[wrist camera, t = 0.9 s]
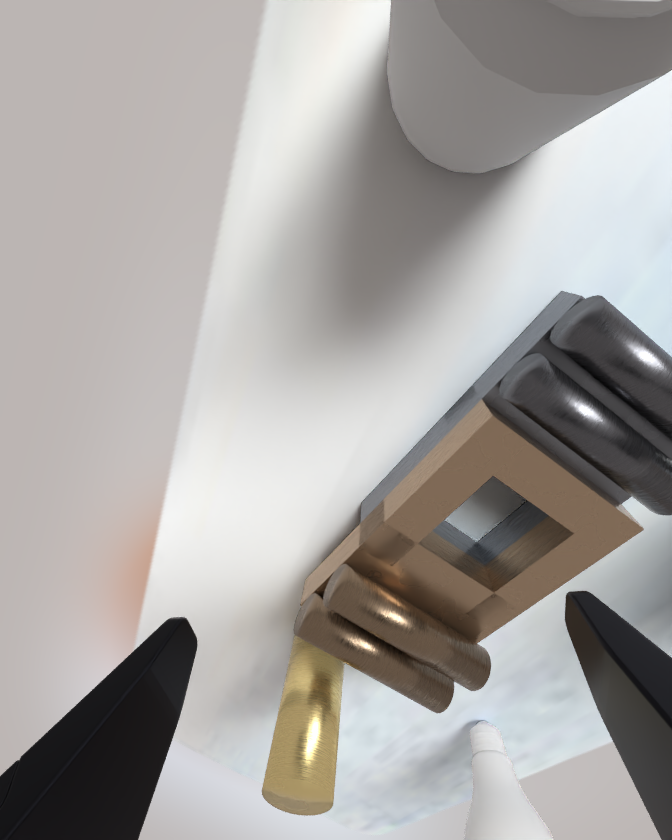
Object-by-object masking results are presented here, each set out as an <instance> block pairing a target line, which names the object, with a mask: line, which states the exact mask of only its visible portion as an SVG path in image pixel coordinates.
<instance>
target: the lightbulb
mask: <svg viewBox="0 0 672 840" xmlns="http://www.w3.org/2000/svg"><path fill="white" fill-rule="evenodd" d="M470 740H471V747H472V753H473V759H472V762H471V765H472V773H473V793H472V802H471V806H470V809H469V813H468V817H467V822H466V828H465V833H464V835H465V836H464V837H465V838H464V840H554V839H553V837H552V835H551V832H550V831H549V829H548V828H547V826H546V825H545V823H544V821H543V820H542V819H541V817H540V816H539V814H538V813H537V811H536V810H535V809H534V807H533V806H532V804H531V803H530V802H529V800H528V799H527V797H526V795H525V793H524V792H523V790H522V788H521V786H520V784H519V781H518V779H517V776H516V774H515V771H514V767H513V764H512V762H511V760H510V758H509V757H507V753H506V750H505V746H504V744H503V739H502V737H501V734H500V731H499V730H498V729H497V728H496V727H495V726H493V725H490V724H489V723H488V722H485V721H480V722H478V723H477V725H475V726H474V727H472V729H471V730H470Z"/></svg>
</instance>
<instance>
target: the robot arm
mask: <svg viewBox="0 0 672 840" xmlns="http://www.w3.org/2000/svg"><path fill="white" fill-rule="evenodd" d="M565 622H566V626H567V630H568V632H569V635H570V638H571V640H572V643H573V646H574V648H575V651H576V654H577V656H578V659H579V661H580V664H581V667H582V669H583V672H584V675H585V677H586V680H587V683H588V685H589V688H590V690H591V693H592V696H593V698H594V701H595V703H596V706H597V708H598V711H599V713H600V715H601V717H602V719H603V721H604V724H605V726H606V728H607V730H608V732H609V734H610V736H611V738H612V740H613V742H614V743H615V746H616V748H617V750H618V752H619V754H620V756H621V758H622V760H623V762H624V764H625V766H626V768H627V770H628V772H629V774H630V776H631V778H632V780H633V782H634V784H635V787H636V789H637V791H638V792H639V795H640V797H641V799H642V801H643V803H644V805H645V807H646V809H647V811H648V813H649V815H650V817H651V819H652V821H653V823H654V825H655V827H656V829H657V831H658V833H659V835H660V837H661V839H662V840H672V658H671V657H670V656H669V655H667V654H666V653H665V652H664V651H662V650H661V649H660V648H659V647H657V646H656V645H655V644H654V643H653V642H651V641H650V640H649V639H648V638H646V637H645V636H644V635H643V634H641V633H640V632H639V631H638V630H636V629H635V628H634V627H633V626H631V625H630V624H629V623H628V622H626V621H625V620H624V619H623V618H621V617H620V616H619V615H618V614H616V613H615V612H614V611H613V610H611V609H610V608H609V607H608V606H606V605H605V604H604V603H603V602H601V601H600V600H599V599H598V598H596V597H595V596H594V595H593V594H591V593H590V592H587V591H574V592H568V593H567V595H566V607H565ZM196 651H197V637H196V635H195V633H194V631H193V629H192V627H191V626H190V624H189V622H188V620H187V619H186V618H185V617H175V618H170V619H168V620H167V621H165V622H164V623H163V624H162V625H161V626H160V627H159V628H158V629H157V630H156V631H155V632H154V633H153V634H151V635H150V636H149V637H148V638H147V639H146V640H145V641H144V642H143V643H142V644H141V645H140V646H139V647H138V648H137V649H135V650H134V651H133V652H132V653H131V654H130V655H129V656H128V657H127V658H126V659H125V660H124V661H123V662H122V663H121V664H119V665H118V666H117V667H116V668H115V669H114V670H113V671H112V672H111V673H110V674H109V675H108V676H107V677H106V678H105V679H104V680H102V681H101V682H100V683H99V684H98V685H97V686H96V687H95V688H94V689H93V690H92V691H91V692H90V693H89V694H88V695H86V696H85V697H84V698H83V699H82V700H81V701H80V702H79V703H78V704H77V705H76V706H75V707H74V708H73V709H71V711H70V712H68V713H67V714H66V715H65V716H64V717H63V718H62V719H61V720H60V721H59V722H58V723H57V724H55V725H54V726H53V727H52V728H51V729H50V730H49V731H48V732H47V733H46V734H45V735H44V736H43V737H42V738H41V739H39V740H38V741H37V742H36V743H35V744H34V745H33V746H32V747H31V748H30V749H29V750H28V751H27V752H26V753H25V754H23V755H22V756H21V758H20V760H18V761H16V762H15V763H14V764H13V765H12V766H11V767H9V768H8V769H7V770H6V771H5V772H4V773H3V774H2V775H1V776H0V840H138V838H139V835H140V832H141V829H142V826H143V824H144V821H145V817H146V815H147V812H148V809H149V806H150V803H151V800H152V797H153V794H154V791H155V788H156V785H157V782H158V779H159V777H160V773H161V771H162V768H163V764H164V762H165V759H166V756H167V753H168V750H169V747H170V744H171V741H172V738H173V735H174V733H175V730H176V727H177V723H178V720H179V717H180V714H181V710H182V707H183V703H184V699H185V695H186V691H187V687H188V683H189V679H190V675H191V671H192V667H193V663H194V659H195V655H196Z"/></svg>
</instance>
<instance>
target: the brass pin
mask: <svg viewBox="0 0 672 840" xmlns="http://www.w3.org/2000/svg"><path fill="white" fill-rule="evenodd" d="M343 672H344V662H343V661H341V660H339V659H337V658H335V657H334V656H332V655H330V654H328V653H326V652H324V651H323V650H321V649H319V648H317V647H315V646H314V645H312V644H310V643H308V642H306V641H305V640H303V639H301V638H299V637H297V636H296V635H295V636H294V640H293V645H292V650H291V655H290V659H289V664H288V669H287V674H286V678H285V683H284V688H283V693H282V697H281V702H280V707H279V712H278V716H277V721H276V726H275V731H274V735H273V740H272V745H271V750H270V755H269V759H268V764H267V769H266V774H265V778H264V783H263V788H262V795H263V797H264V799H265V800H266V801H267V802H268V803H269V804H271V805H272V806H274V807H275V808H277V809H280V810H282V811H285V812H288V813H292V814H297V815H318V814H322V813H325V812H327V811H328V810H330V809H331V808H332V806H333V800H334V787H335V774H336V761H337V749H338V736H339V723H340V710H341V698H342V685H343Z"/></svg>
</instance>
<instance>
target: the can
mask: <svg viewBox="0 0 672 840" xmlns="http://www.w3.org/2000/svg"><path fill="white" fill-rule="evenodd" d="M671 70H672V0H391V12H390V29H389V46H388V63H387V77H388V83H389V90H390V96H391V102H392V108H393V111H394V113H395V115H396V117H397V120H398V122H399V124H400V126H401V128H402V130H403V132H404V134H405V137H406V139H407V140H408V141H409V142H410V143H411V144H412V145H413V146H414V147H415V148H416V149H417V150H418V151H419V152H420V153H421V154H422V155H423V156H424V157H425V158H426V159H427V160H428V161H430V162H432V163H435V164H437V165H439V166H441V167H443V168H445V169H448V170H450V171H452V172H465V173H484V172H487V171H491V170H494V169H497V168H501V167H504V166H507V165H511V164H512V163H514V162H516V161H517V160H519V159H521V158H523V157H524V156H526V155H528V154H529V153H531V152H533V151H535V150H536V149H538V148H540V147H541V146H543V145H545V144H546V143H548V142H550V141H552V140H553V139H555V138H557V137H558V136H560V135H562V134H564V133H565V132H567V131H569V130H570V129H572V128H574V127H576V126H577V125H579V124H581V123H582V122H584V121H586V120H588V119H589V118H591V117H593V116H594V115H596V114H598V113H600V112H601V111H603V110H605V109H606V108H608V107H610V106H612V105H613V104H615V103H617V102H618V101H620V100H622V99H624V98H625V97H627V96H629V95H630V94H632V93H634V92H636V91H637V90H639V89H641V88H642V87H644V86H646V85H648V84H649V83H651V82H653V81H654V80H656V79H658V78H659V77H661V76H663V75H665V74H666V73H668V72H669V71H671Z"/></svg>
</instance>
